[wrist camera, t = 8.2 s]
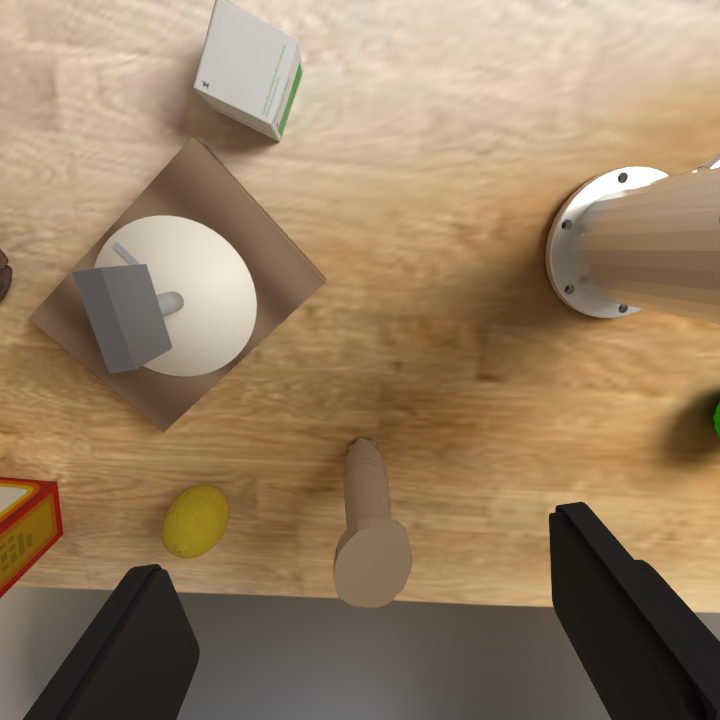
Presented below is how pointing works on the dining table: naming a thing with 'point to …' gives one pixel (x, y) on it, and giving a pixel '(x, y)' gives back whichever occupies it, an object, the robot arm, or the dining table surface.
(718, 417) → the ornament
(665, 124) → the dining table surface
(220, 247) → the dial
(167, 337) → the grey block with rod
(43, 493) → the baking soda box
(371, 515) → the handle
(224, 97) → the small box
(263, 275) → the board
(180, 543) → the lemon
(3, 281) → the broken clay pot
